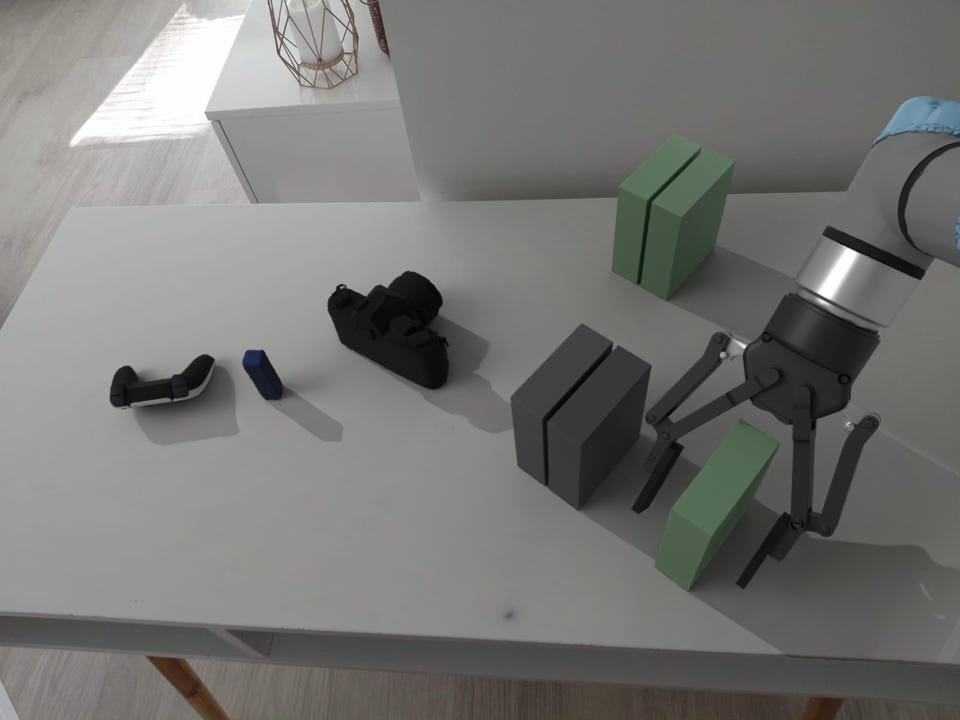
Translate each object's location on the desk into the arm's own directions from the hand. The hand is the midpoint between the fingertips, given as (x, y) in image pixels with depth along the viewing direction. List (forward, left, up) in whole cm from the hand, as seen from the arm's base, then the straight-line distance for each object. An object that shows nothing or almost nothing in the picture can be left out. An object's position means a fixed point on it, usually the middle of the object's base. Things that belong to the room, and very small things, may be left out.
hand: (689, 543), depth 64 cm
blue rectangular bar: (+41, +19, -5) cm, 46 cm away
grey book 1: (+16, 0, -5) cm, 17 cm away
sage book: (+1, -3, -5) cm, 6 cm away
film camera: (+37, +4, -5) cm, 38 cm away
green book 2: (+24, -25, -5) cm, 36 cm away
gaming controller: (+49, +28, -5) cm, 57 cm away
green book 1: (+28, -25, -5) cm, 38 cm away
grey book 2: (+12, -1, -5) cm, 13 cm away
